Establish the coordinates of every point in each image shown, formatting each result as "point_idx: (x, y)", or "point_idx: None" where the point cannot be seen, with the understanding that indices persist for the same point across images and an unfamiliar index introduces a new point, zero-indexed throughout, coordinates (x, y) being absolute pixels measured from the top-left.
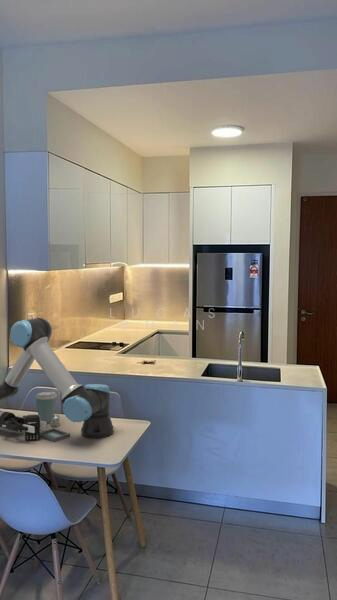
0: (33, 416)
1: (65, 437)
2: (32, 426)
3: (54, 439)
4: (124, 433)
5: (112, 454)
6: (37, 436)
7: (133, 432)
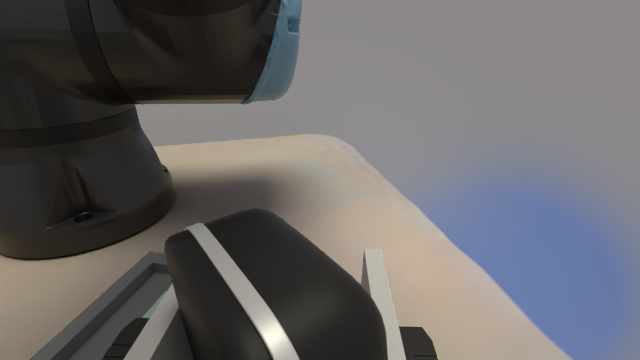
0: (289, 226)
1: None
2: (374, 263)
3: None
4: None
5: (295, 143)
6: None
7: None
